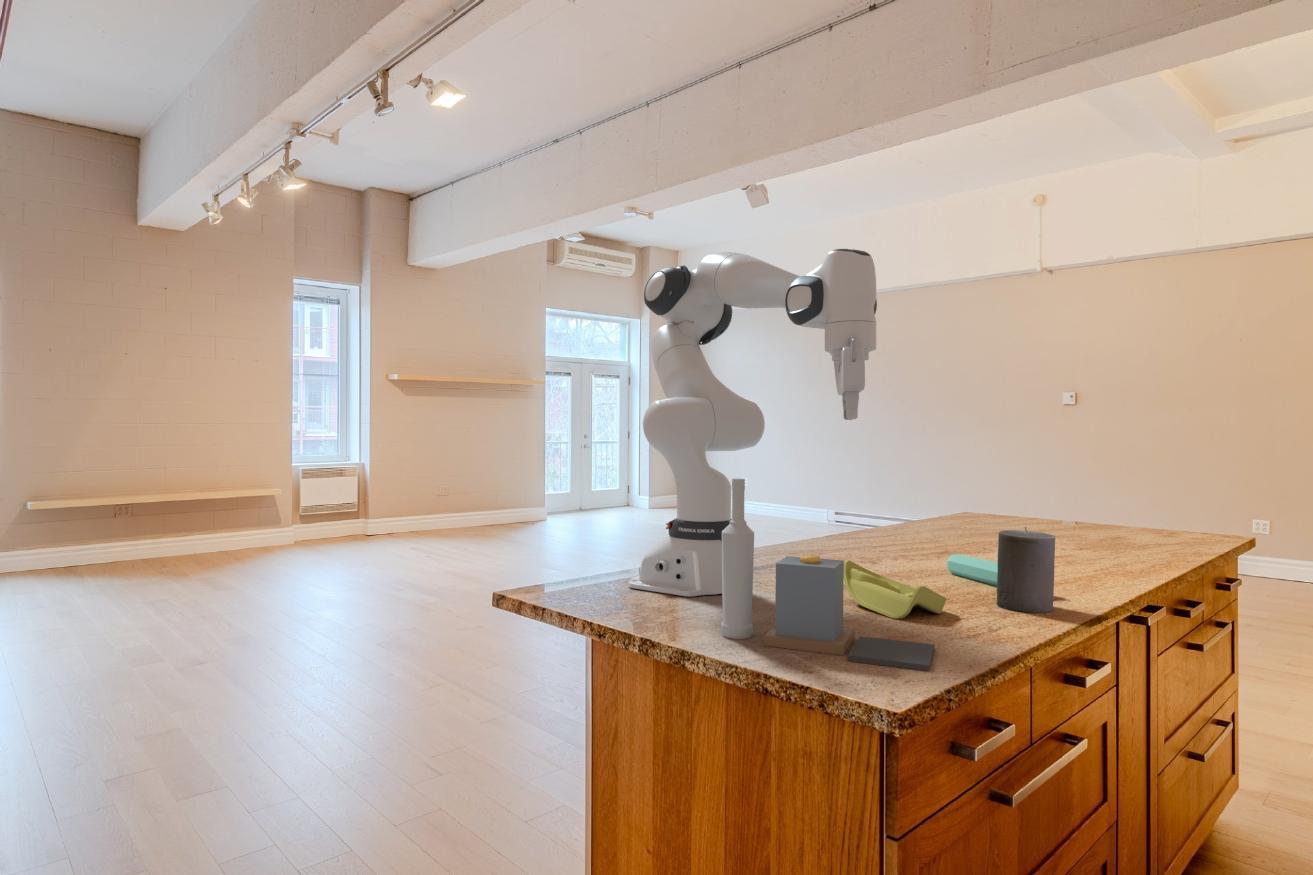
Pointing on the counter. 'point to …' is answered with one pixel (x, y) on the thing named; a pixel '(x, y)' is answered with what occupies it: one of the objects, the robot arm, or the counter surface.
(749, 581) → the bottle
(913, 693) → the counter surface
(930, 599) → the plastic component
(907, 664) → the pad
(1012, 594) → the pillar candle
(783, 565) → the mounted unit
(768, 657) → the counter surface
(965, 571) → the mint green rod
